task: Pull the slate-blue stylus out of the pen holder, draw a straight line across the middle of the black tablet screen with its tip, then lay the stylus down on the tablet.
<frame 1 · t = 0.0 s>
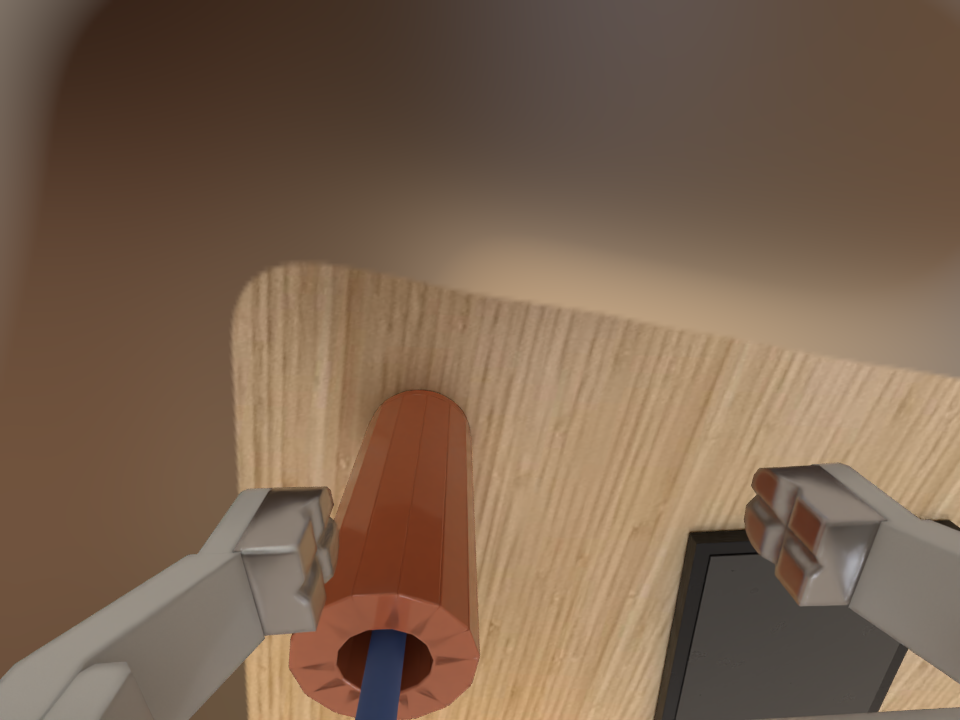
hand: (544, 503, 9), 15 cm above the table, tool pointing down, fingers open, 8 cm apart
holder: (420, 434, 26), on the table
tablet: (778, 653, 34), on the table
stylus: (398, 572, 17), point 10 cm above the table, touching holder
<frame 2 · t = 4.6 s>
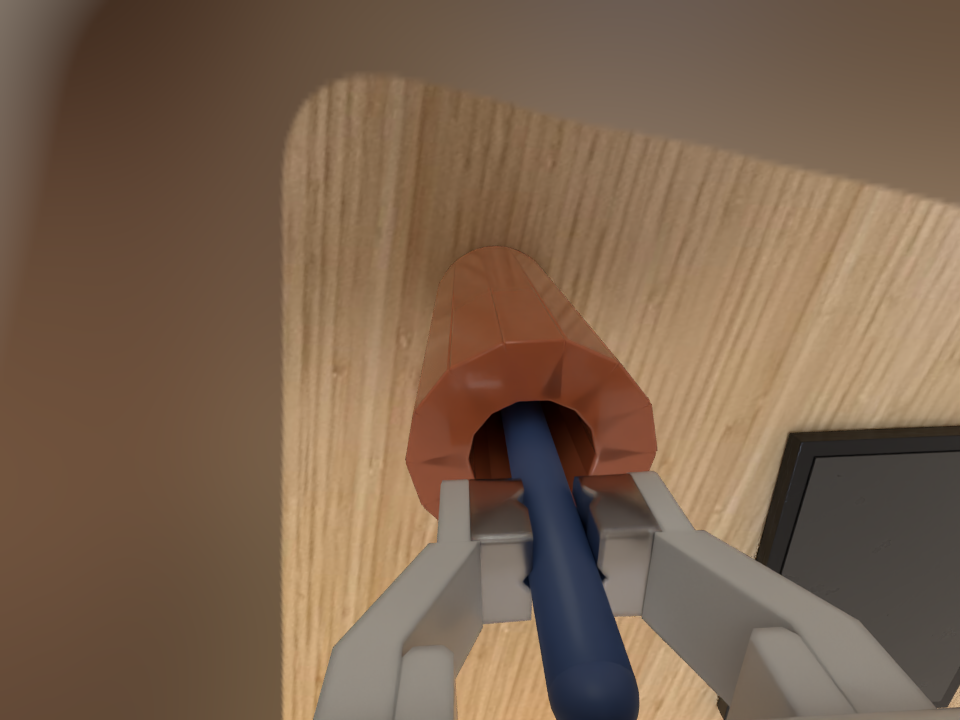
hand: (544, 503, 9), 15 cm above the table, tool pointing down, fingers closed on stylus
holder: (494, 304, 22), on the table
tablet: (873, 583, 31), on the table
stylus: (516, 391, 14), point 10 cm above the table, touching gripper, holder
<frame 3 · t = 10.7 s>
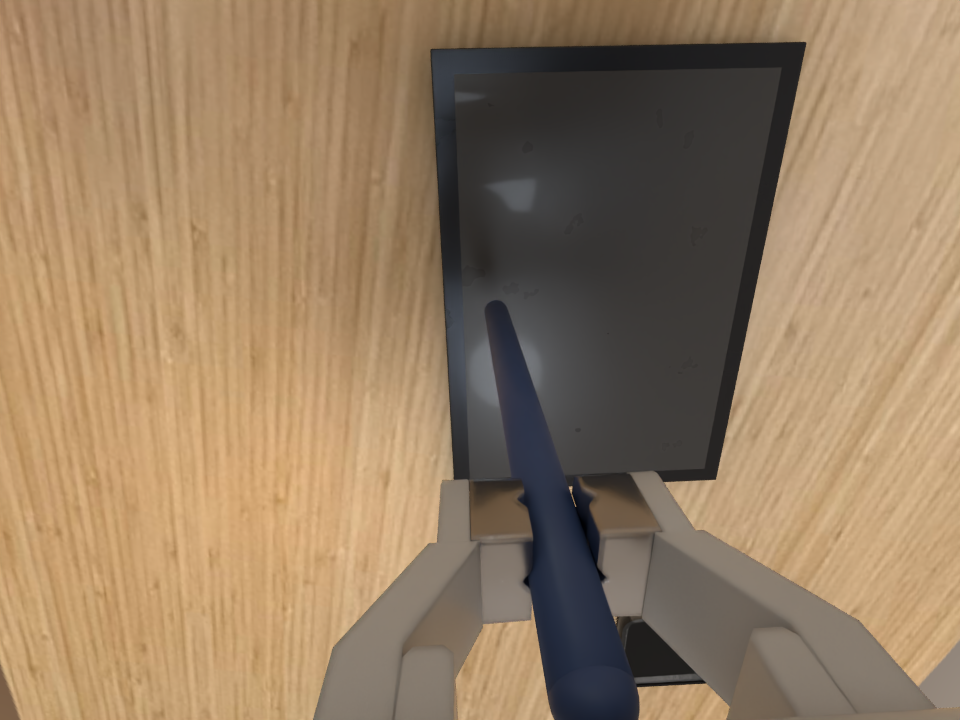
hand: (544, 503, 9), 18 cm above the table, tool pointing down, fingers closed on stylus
tablet: (595, 300, 26), on the table
stylus: (516, 392, 14), point 13 cm above the table, touching gripper
phone: (706, 634, 37), on the table
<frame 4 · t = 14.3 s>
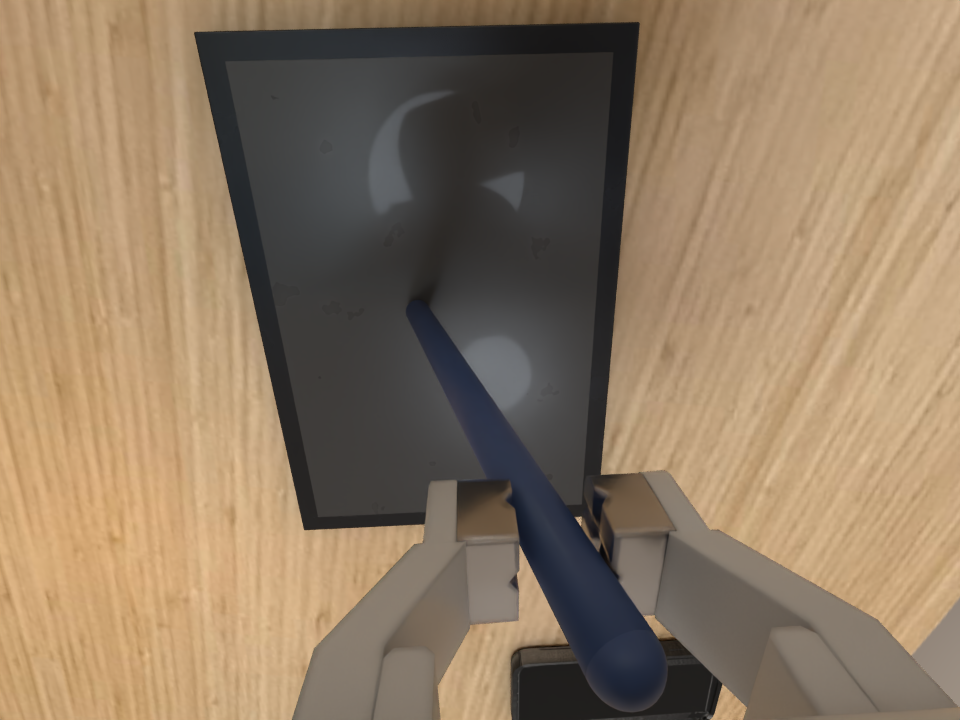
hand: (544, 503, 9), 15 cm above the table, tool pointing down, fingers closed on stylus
tablet: (439, 320, 23), on the table
stylus: (464, 390, 14), point 10 cm above the table, tilted 14°, touching gripper
phone: (611, 676, 34), on the table
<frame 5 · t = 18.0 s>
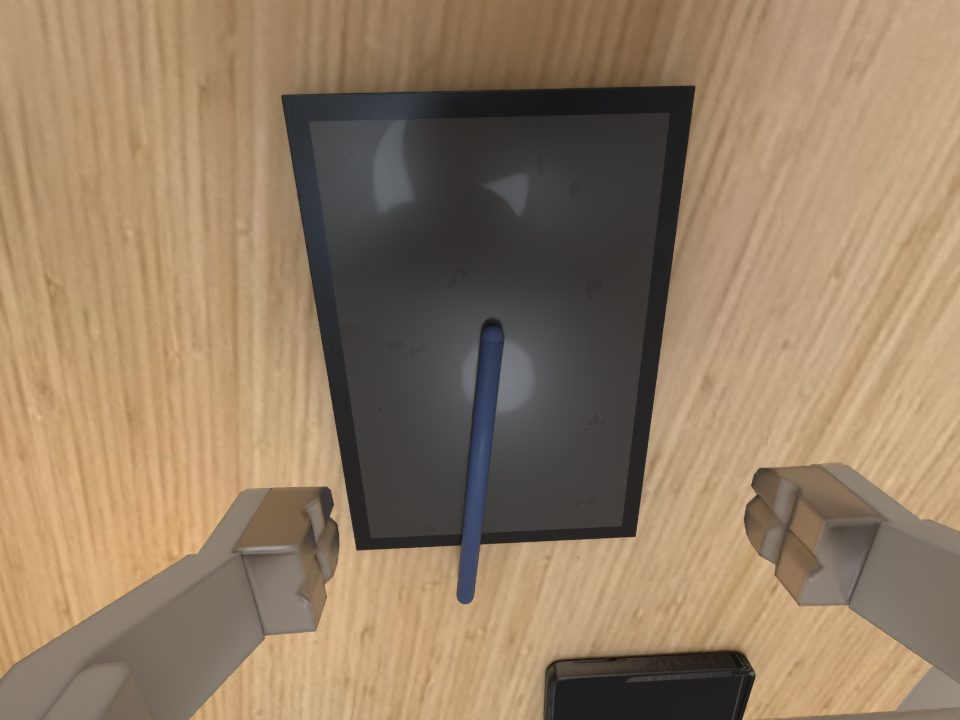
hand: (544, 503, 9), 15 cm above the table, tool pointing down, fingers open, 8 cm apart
tablet: (493, 354, 24), on the table
stylus: (477, 481, 25), point 2 cm above the table, tilted 90°, touching tablet
phone: (641, 688, 35), on the table
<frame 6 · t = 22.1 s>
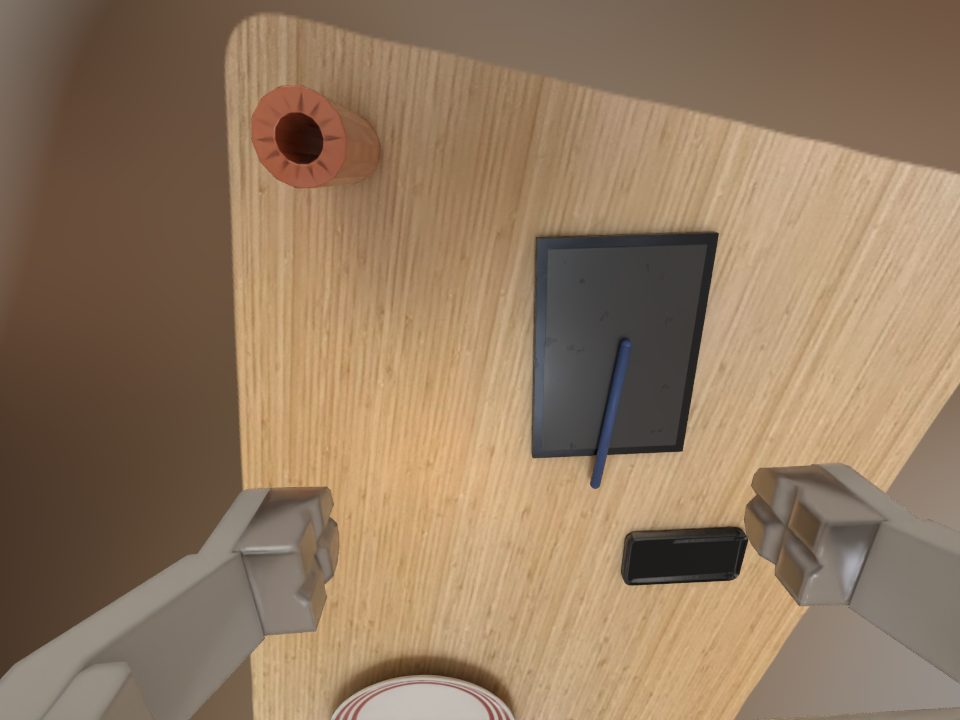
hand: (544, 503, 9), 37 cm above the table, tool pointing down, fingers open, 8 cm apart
holder: (347, 148, 40), on the table
tablet: (614, 352, 48), on the table
stylus: (609, 418, 49), point 2 cm above the table, tilted 90°, touching tablet
dinner plate: (424, 714, 70), on the table
phone: (680, 551, 59), on the table
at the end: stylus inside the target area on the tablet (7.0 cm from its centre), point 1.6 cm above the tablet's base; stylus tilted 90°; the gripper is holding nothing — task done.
